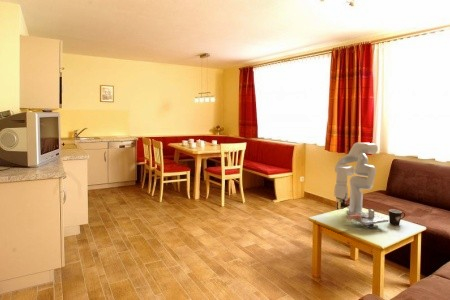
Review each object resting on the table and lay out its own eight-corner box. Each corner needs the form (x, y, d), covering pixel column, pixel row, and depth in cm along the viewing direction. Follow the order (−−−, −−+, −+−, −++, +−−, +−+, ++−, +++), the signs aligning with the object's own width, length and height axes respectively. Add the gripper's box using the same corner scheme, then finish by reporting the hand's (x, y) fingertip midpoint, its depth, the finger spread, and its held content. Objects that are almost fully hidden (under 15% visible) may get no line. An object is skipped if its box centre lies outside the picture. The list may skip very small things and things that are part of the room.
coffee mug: (388, 225, 223) (389, 212, 222) (387, 221, 231) (387, 208, 230) (406, 227, 219) (407, 214, 218) (404, 223, 227) (405, 210, 226)
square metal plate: (346, 223, 226) (347, 208, 224) (368, 220, 233) (369, 205, 231) (364, 232, 209) (365, 216, 207) (387, 228, 216) (389, 212, 214)
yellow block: (335, 208, 228) (336, 198, 227) (343, 207, 230) (343, 197, 229) (338, 209, 225) (338, 199, 224) (345, 208, 227) (346, 198, 226)
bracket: (346, 218, 217) (346, 214, 217) (355, 217, 220) (355, 213, 220) (352, 221, 212) (352, 216, 211) (361, 219, 214) (361, 215, 214)
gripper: (330, 181, 231) (329, 203, 234) (345, 186, 216) (344, 210, 219) (338, 180, 234) (337, 202, 236) (353, 184, 219) (352, 209, 221)
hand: (340, 206), depth 227 cm, fingers closed on yellow block, 2 cm apart
